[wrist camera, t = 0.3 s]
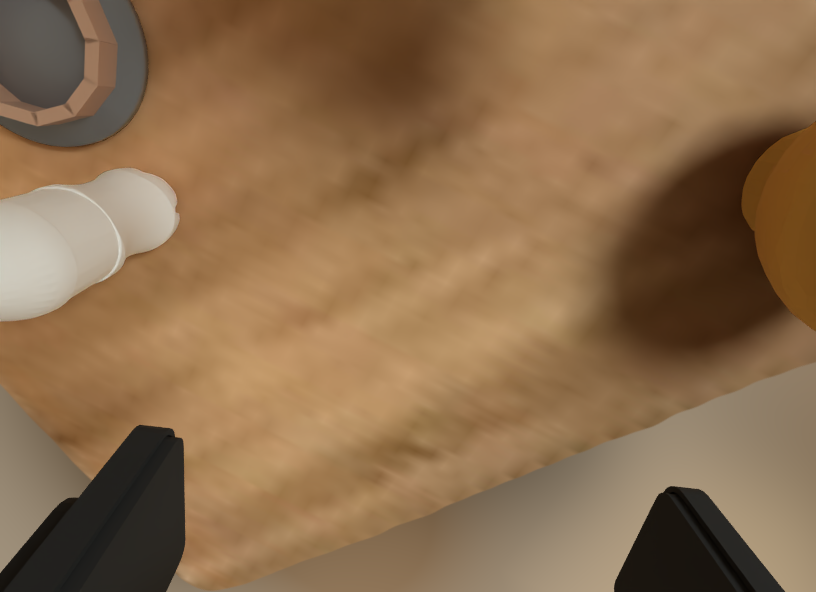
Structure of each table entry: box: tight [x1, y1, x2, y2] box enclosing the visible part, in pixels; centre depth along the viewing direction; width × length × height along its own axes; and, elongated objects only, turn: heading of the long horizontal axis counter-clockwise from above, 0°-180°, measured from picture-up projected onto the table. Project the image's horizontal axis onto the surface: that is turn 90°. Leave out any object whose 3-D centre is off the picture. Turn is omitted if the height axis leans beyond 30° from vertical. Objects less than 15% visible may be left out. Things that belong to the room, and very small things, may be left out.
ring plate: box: [0, 0, 148, 147], centre depth 36 cm, size 16×16×4 cm
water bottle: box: [0, 168, 180, 321], centre depth 31 cm, size 7×7×25 cm
